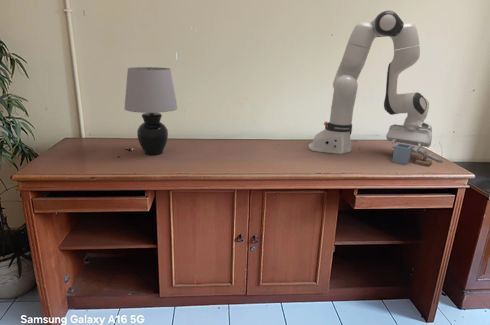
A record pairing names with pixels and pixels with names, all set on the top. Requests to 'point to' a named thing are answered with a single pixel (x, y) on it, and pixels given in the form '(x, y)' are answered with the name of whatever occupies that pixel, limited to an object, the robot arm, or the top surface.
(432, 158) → the adjustable wrench
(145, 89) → the lamp
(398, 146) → the collar
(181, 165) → the top surface
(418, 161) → the post stand
